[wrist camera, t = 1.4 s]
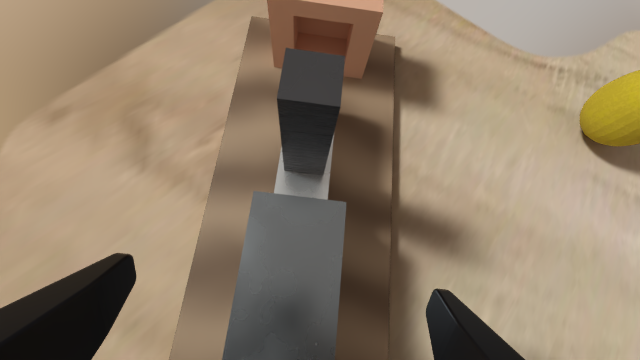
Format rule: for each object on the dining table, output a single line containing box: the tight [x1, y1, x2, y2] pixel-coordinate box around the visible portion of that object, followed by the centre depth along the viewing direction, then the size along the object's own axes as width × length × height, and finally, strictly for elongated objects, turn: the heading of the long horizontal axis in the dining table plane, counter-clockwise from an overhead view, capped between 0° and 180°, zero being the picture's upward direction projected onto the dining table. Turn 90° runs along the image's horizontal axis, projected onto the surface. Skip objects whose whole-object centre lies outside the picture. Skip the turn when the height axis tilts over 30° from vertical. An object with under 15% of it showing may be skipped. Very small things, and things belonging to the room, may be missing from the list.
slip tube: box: [274, 48, 345, 200], centre depth 15 cm, size 23×3×11 cm, turn 174°
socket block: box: [267, 0, 383, 79], centre depth 24 cm, size 5×8×7 cm, turn 84°
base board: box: [169, 17, 395, 360], centre depth 23 cm, size 34×14×1 cm, turn 174°
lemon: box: [580, 70, 640, 146], centre depth 24 cm, size 6×6×8 cm
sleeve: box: [222, 191, 347, 360], centre depth 17 cm, size 14×5×6 cm, turn 174°
